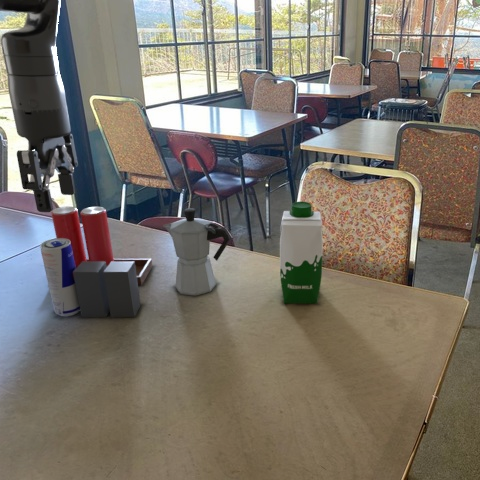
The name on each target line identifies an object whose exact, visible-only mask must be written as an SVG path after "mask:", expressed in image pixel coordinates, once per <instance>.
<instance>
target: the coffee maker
mask: <svg viewBox="0 0 480 480" xmlns="http://www.w3.org/2000/svg"><path fill="white" fill-rule="evenodd" d="M183 212H184V215H185V218H182V219H180V220H177V221H174V222H171V223H167V224H166V223H165V224H163V225H162V227H164V228H165V229H166V231H167V232H168V234H169V235H170V237H171V238H172V242H173V248H174V251H175V255H176V257H177V258H178V259H177V263H176V274H175V275H176V277H175V285H174V286H175V287H174V288H175V289H176V290H177V291H178V293H179V294H180V295H186V296H187V295H188V296H193V297H195V296H200V295H203V294H206V293H211V291H212V290H213V289H214V288H215V287H216V285H217V281H216V277H215V274H214V270H213V265H212V263H211V258H210V256H209V255H210V247H211V241H212V240H215V239H219V238H222V239H223V241H222V243H221V245H219V247H218V249H217V251H216V253H215V254H214V256H213V259H214V260H215V261H218V260H219V259H220V257H221V256H222V254H223V252H224V251H225V249H226V247H227V246H228V244H229V243H230V241H231V239H232V238H231V235H230V233H229V232H228V230H227V229H226V228H224V227H220V225H218V224H217V223H216V222H211V221H210V220H207V219H203V218H200V217H196V218H195V214H196V208H193V207H188V208H185V209H184V210H183Z"/></svg>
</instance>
